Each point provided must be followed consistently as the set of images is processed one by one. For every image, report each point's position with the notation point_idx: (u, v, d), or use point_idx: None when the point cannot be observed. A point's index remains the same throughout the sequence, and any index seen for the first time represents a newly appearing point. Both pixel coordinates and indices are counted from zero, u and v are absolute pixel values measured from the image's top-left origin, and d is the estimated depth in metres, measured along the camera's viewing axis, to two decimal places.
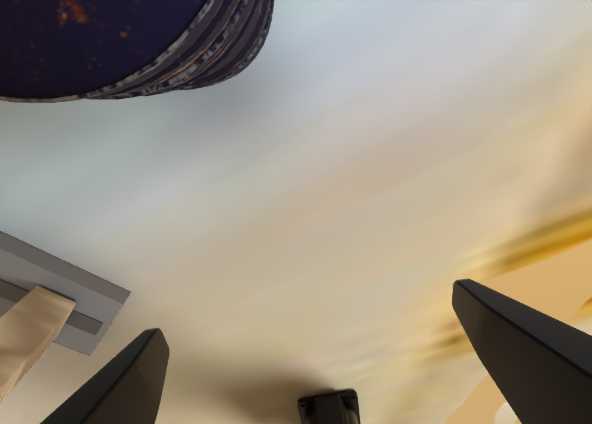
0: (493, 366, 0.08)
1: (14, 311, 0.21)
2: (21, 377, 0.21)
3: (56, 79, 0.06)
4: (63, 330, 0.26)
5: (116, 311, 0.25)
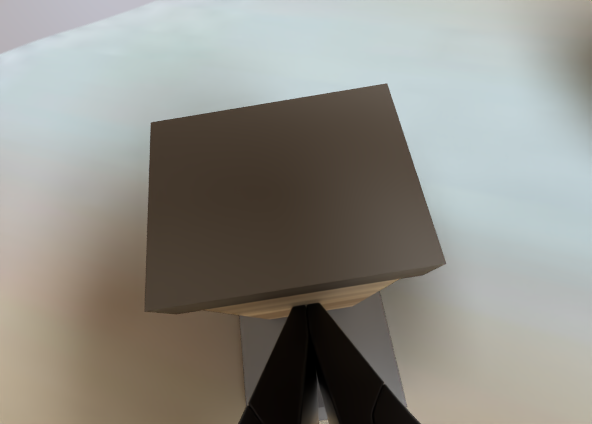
0: (321, 393, 0.08)
1: None
2: (259, 315, 0.11)
3: None
4: None
5: None
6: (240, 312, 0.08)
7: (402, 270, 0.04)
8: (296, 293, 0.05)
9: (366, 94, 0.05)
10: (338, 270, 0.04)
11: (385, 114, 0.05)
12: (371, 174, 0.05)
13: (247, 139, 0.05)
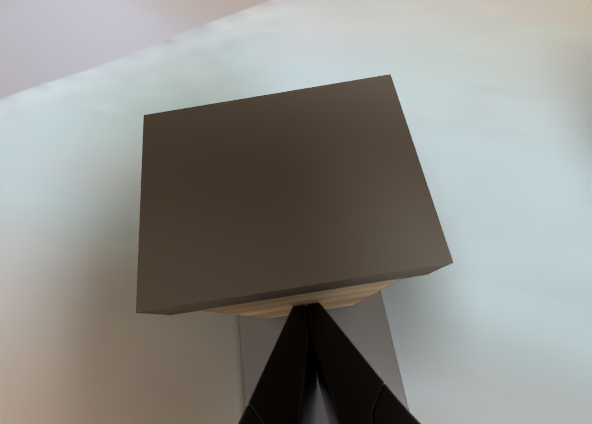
0: (321, 393, 0.08)
1: None
2: (258, 314, 0.10)
3: None
4: None
5: None
6: (238, 312, 0.08)
7: (407, 269, 0.04)
8: (295, 293, 0.05)
9: (369, 85, 0.05)
10: (339, 269, 0.04)
11: (388, 106, 0.05)
12: (374, 169, 0.04)
13: (244, 132, 0.05)
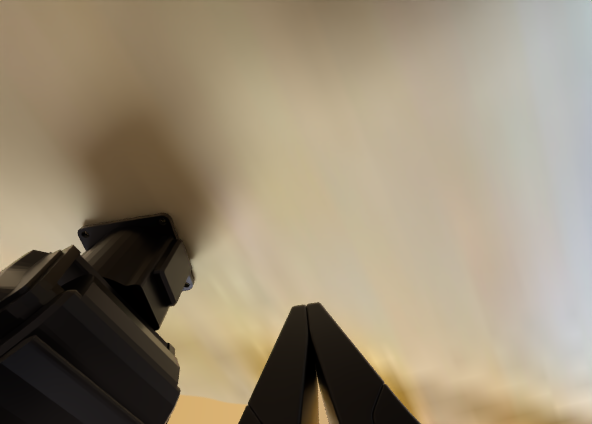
0: (321, 393, 0.08)
1: None
2: None
3: None
4: None
5: None
6: None
7: None
8: None
9: None
10: None
11: None
12: None
13: None
